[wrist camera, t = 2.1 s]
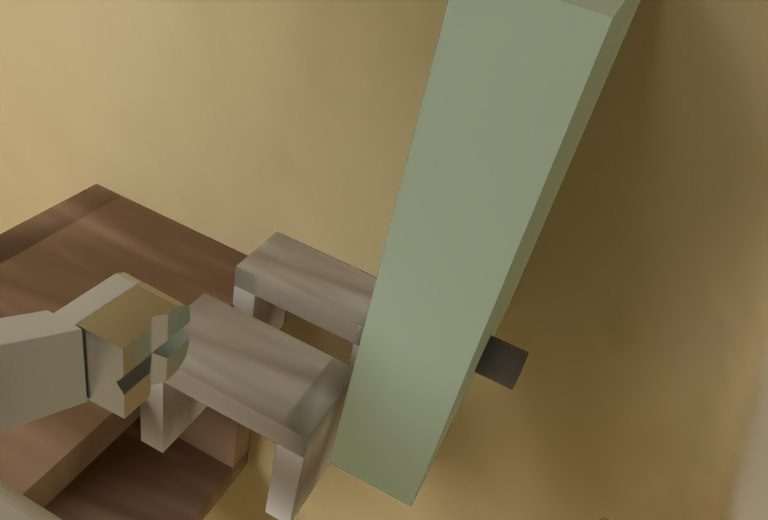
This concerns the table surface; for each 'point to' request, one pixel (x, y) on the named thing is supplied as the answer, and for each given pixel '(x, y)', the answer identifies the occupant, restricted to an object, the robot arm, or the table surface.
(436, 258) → the door
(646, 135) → the table surface
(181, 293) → the cabinet
